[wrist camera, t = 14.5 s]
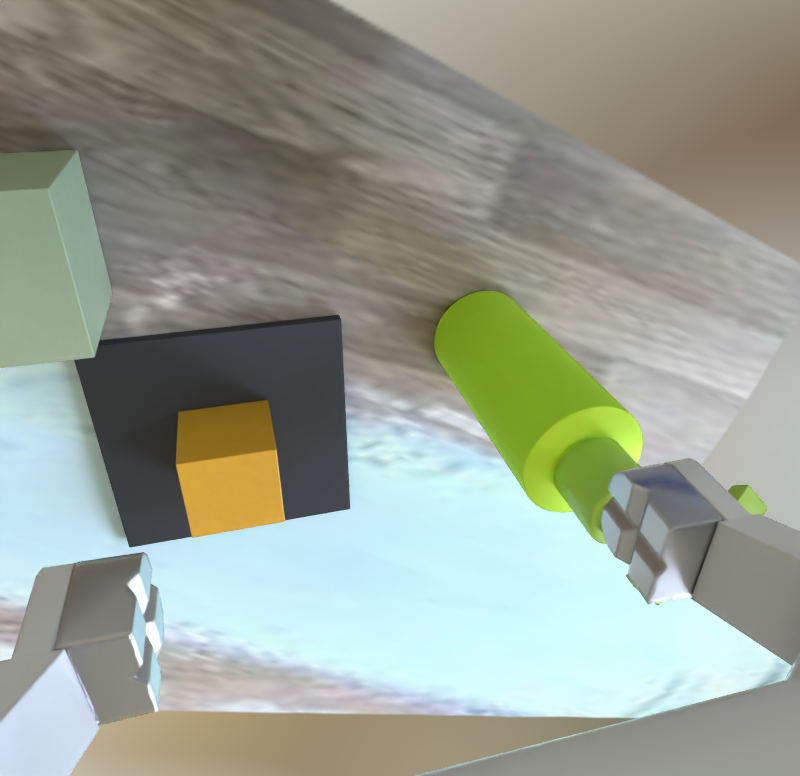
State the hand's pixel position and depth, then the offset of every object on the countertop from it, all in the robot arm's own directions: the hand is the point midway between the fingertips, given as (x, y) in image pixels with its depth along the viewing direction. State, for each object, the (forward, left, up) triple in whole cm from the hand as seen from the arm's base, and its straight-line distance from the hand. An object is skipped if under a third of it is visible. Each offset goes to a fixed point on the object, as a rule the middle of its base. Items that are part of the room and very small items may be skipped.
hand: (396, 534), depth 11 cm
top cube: (+4, +15, -25) cm, 29 cm away
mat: (+4, +15, -25) cm, 29 cm away
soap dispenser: (-12, +10, -25) cm, 30 cm away
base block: (+12, +2, -25) cm, 28 cm away
